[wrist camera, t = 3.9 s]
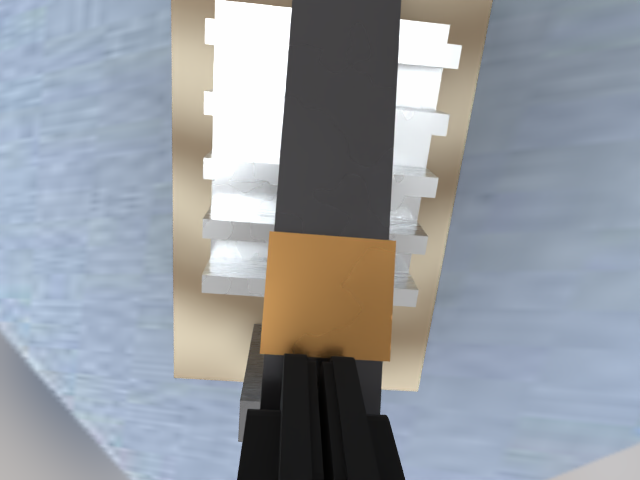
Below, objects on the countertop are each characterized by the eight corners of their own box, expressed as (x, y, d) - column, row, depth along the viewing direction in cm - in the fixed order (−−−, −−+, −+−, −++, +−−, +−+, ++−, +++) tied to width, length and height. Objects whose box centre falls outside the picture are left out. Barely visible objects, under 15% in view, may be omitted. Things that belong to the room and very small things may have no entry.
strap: (289, -154, 15) (289, -203, 14) (416, -137, 15) (431, -184, 14) (237, 461, 13) (232, 482, 12) (387, 468, 13) (400, 490, 12)
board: (182, -161, 20) (170, -185, 18) (499, -121, 20) (519, -140, 19) (182, 356, 28) (174, 377, 26) (410, 369, 28) (417, 391, 27)
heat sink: (225, -161, 18) (190, -264, 12) (465, -130, 19) (536, -214, 13) (213, 355, 25) (188, 439, 20) (385, 365, 26) (408, 449, 20)
